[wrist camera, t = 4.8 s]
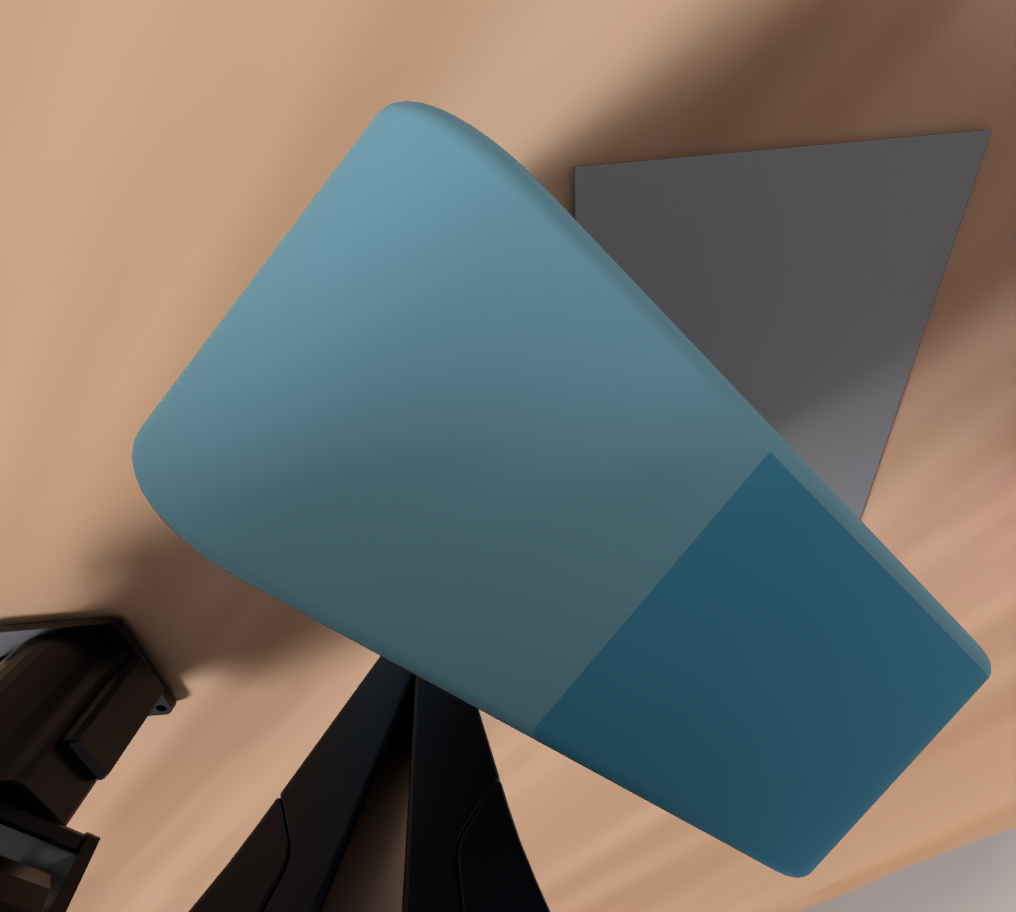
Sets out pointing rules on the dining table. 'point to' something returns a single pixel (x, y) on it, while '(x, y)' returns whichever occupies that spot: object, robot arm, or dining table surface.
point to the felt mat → (796, 274)
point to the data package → (549, 502)
